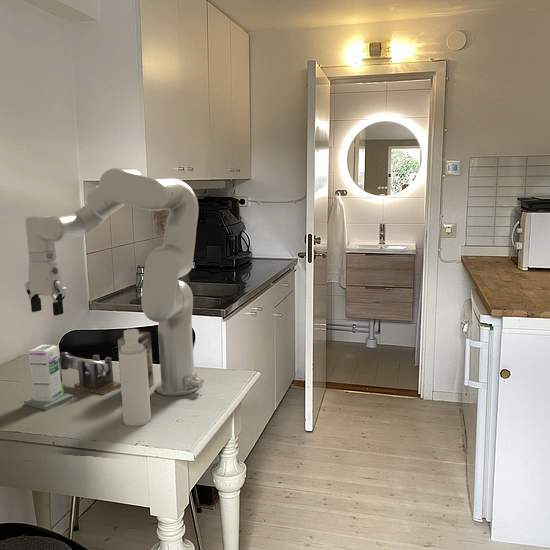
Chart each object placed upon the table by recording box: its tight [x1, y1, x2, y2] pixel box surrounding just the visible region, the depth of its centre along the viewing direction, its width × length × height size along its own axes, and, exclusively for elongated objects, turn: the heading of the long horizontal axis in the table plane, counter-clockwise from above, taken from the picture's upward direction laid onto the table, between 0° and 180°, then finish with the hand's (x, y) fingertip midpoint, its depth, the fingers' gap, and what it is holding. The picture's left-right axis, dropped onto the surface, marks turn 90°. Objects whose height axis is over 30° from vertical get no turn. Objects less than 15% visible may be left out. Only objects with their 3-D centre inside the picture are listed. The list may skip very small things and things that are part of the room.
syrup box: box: [27, 344, 65, 402], centre depth 156 cm, size 6×6×14 cm
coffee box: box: [117, 331, 155, 395], centre depth 163 cm, size 9×6×16 cm
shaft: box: [59, 351, 109, 375], centre depth 169 cm, size 18×5×5 cm, turn 60°
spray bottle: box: [117, 328, 152, 427], centre depth 141 cm, size 7×7×25 cm
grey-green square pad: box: [23, 392, 74, 411], centre depth 157 cm, size 9×9×1 cm
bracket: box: [73, 354, 121, 395], centre depth 166 cm, size 12×7×8 cm, turn 60°
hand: (47, 312), depth 172 cm, fingers open, 9 cm apart
